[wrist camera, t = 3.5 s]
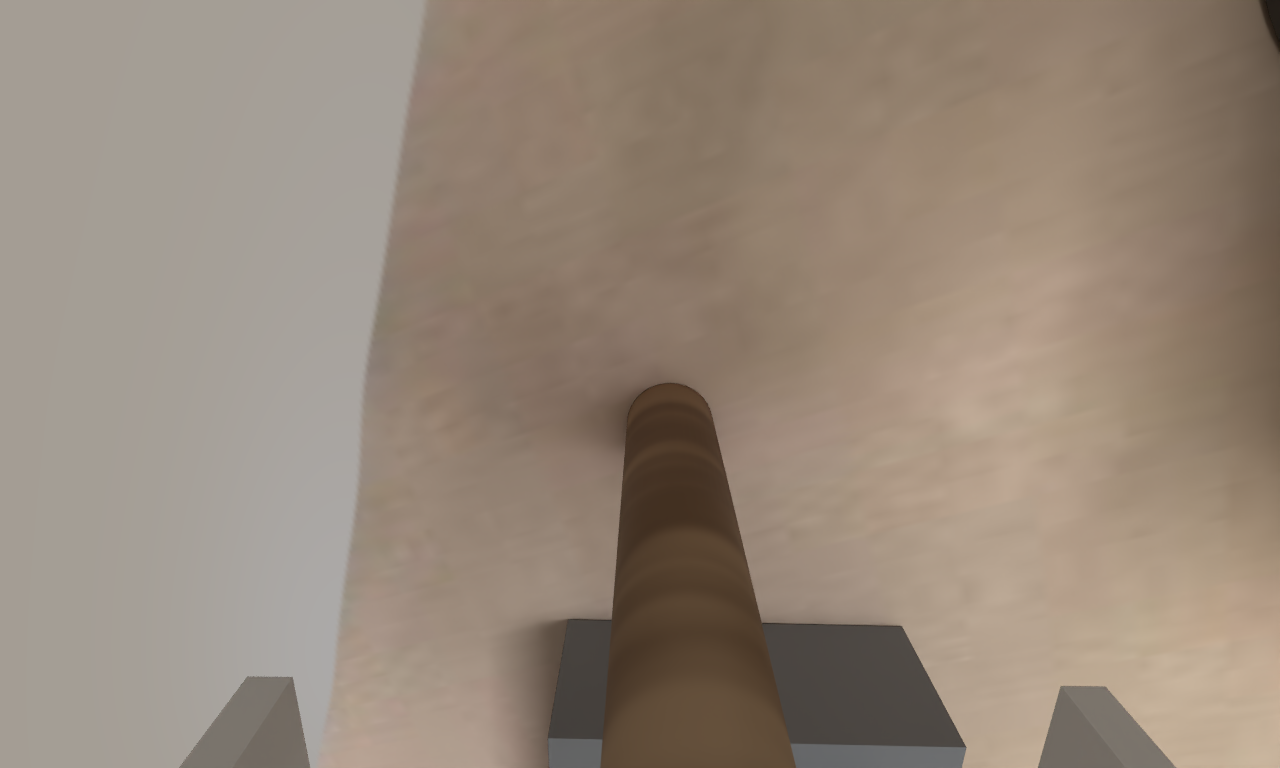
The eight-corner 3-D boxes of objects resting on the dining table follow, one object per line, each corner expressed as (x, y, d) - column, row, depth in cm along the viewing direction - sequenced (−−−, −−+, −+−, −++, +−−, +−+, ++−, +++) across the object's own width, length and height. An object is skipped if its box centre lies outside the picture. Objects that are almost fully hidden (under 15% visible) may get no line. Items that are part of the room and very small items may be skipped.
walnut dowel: (627, 382, 25) (557, 1158, 6) (714, 384, 24) (936, 1166, 6) (626, 461, 26) (565, 1334, 7) (710, 462, 26) (885, 1346, 7)
